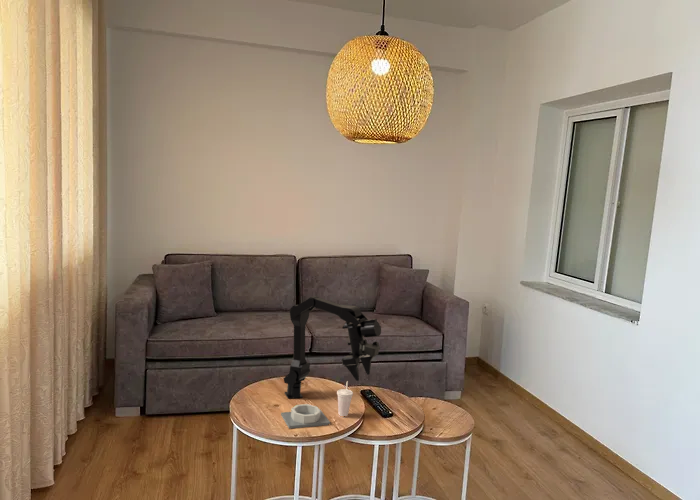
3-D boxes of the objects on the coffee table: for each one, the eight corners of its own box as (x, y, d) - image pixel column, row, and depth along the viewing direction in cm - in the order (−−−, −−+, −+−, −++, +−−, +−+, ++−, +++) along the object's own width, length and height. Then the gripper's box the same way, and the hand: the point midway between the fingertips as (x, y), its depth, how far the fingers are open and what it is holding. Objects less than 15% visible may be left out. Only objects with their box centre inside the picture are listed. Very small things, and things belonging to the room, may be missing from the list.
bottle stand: (281, 415, 200) (281, 405, 200) (320, 411, 206) (320, 402, 206) (289, 428, 189) (289, 418, 188) (330, 424, 195) (330, 414, 195)
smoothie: (349, 419, 201) (352, 385, 199) (333, 417, 202) (336, 382, 200) (352, 413, 207) (355, 379, 206) (337, 411, 208) (339, 377, 207)
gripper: (363, 341, 192) (370, 383, 191) (384, 332, 208) (391, 370, 208) (337, 343, 197) (344, 384, 197) (360, 334, 214) (367, 372, 213)
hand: (363, 377), depth 203 cm, fingers open, 9 cm apart
